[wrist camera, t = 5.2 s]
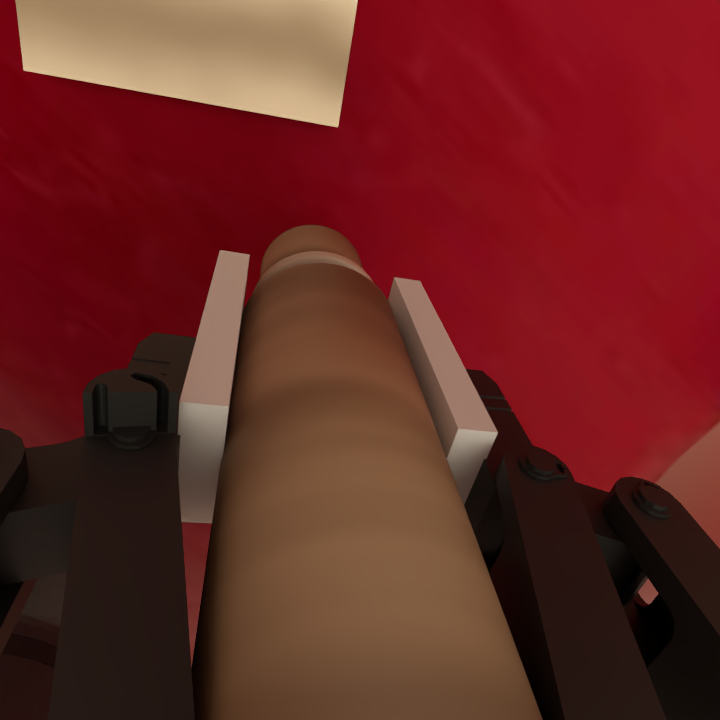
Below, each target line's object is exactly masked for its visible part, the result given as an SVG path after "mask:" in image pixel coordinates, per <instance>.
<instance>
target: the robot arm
mask: <svg viewBox="0 0 720 720" xmlns="http://www.w3.org/2000/svg"><path fill="white" fill-rule="evenodd" d="M249 256H250V255H249V254H242V253H236V252H230V251H223V250H220V252H219V256H218V259H217V263H216V267H215V271H214V274H213V278H212V282H211V285H210V289H209V293H208V297H207V300H206V304H205V308H204V312H203V315H202V319H201V323H200V327H199V330H198V334H197V338H195V337H186V336H178V335H170V334H162V333H153V334H151V335H150V336H148V337H147V338H146V339H144V340H143V341H141V342H140V343H138V345H137V348H136V350H135V352H134V354H133V357H132V361H130V363H129V366H128V368H127V369H119V370H113V371H110V372H107V373H104V374H101V375H99V376H97V377H96V378H94V379H93V380H92V381H90V382H89V383H88V384H87V386H86V388H85V389H84V391H83V410H84V427H85V436H83V437H81V438H78V439H75V440H72V441H69V442H65V443H60V444H55V445H48V446H40V447H32V448H25V447H24V444H23V442H22V439H21V438H20V437H18V436H17V435H16V434H14V433H13V432H11V431H9V430H5V429H1V428H0V720H195V716H194V701H193V686H192V671H191V657H190V642H189V627H188V612H187V597H186V582H185V567H184V552H183V538H182V523H181V522H192V523H212V519H213V512H214V505H215V498H216V491H217V484H218V477H219V470H220V465H221V460H222V457H223V453H224V446H225V439H226V431H227V424H228V416H229V409H230V402H231V394H232V387H233V380H234V372H235V365H236V357H237V350H238V343H239V335H240V328H241V320H242V314H243V308H244V300H245V291H246V282H247V274H248V265H249ZM388 302H389V304H390V307H391V309H392V311H393V314H394V317H395V320H396V322H397V325H398V328H399V330H400V333H401V336H402V339H403V341H404V344H405V347H406V349H407V352H408V355H409V358H410V360H411V363H412V366H413V368H414V371H415V374H416V377H417V379H418V382H419V385H420V387H421V390H422V393H423V396H424V398H425V401H426V404H427V406H428V409H429V412H430V415H431V417H432V420H433V423H434V425H435V428H436V431H437V434H438V436H439V439H440V442H441V444H442V447H443V450H444V453H445V455H446V458H447V461H448V463H449V466H450V469H451V472H452V474H453V477H454V480H455V482H456V485H457V488H458V491H459V493H460V496H461V499H462V501H463V504H464V507H465V510H466V512H467V515H468V518H469V520H470V523H471V526H472V529H473V531H474V534H475V537H476V539H477V542H478V545H479V548H480V550H481V553H482V556H483V558H484V561H485V564H486V567H487V569H488V572H489V575H490V577H491V580H492V583H493V586H494V588H495V591H496V594H497V596H498V599H499V602H500V605H501V607H502V610H503V613H504V615H505V618H506V621H507V624H508V626H509V629H510V632H511V634H512V637H513V640H514V643H515V645H516V648H517V651H518V653H519V656H520V659H521V662H522V664H523V667H524V670H525V672H526V675H527V678H528V681H529V683H530V686H531V689H532V691H533V694H534V697H535V700H536V702H537V705H538V708H539V710H540V713H541V716H542V719H543V720H720V549H719V548H718V546H717V545H716V544H715V543H714V542H713V541H712V540H711V538H710V537H709V536H708V535H707V534H706V532H704V530H703V529H702V528H701V527H700V526H699V524H698V523H697V522H696V521H695V520H694V519H693V517H692V516H691V515H690V514H689V513H688V511H687V510H686V509H685V508H684V507H683V506H682V505H681V503H680V502H678V501H677V500H676V499H675V498H674V497H673V496H672V495H671V494H670V493H669V492H667V491H665V490H664V489H662V488H661V487H660V486H658V485H656V484H654V483H651V482H650V481H647V480H644V479H640V478H635V477H625V478H620V479H619V480H618V481H617V482H616V483H615V485H614V486H613V488H612V490H611V491H610V493H609V492H605V491H602V490H599V489H596V488H593V487H590V486H586V485H583V484H580V483H577V482H575V481H574V478H573V476H572V474H571V472H570V471H569V469H568V467H567V466H566V465H565V464H564V463H563V462H562V461H561V460H560V459H559V458H557V457H556V456H554V455H553V454H551V453H549V452H548V451H546V450H544V449H541V448H538V447H535V446H533V445H532V444H531V442H530V440H529V438H528V437H527V435H526V433H525V432H524V430H523V428H522V426H521V425H520V423H519V421H518V419H517V418H516V416H515V414H514V413H513V412H511V407H510V406H509V404H508V402H507V400H505V397H504V395H503V394H502V392H501V390H500V388H499V387H498V385H497V384H496V383H495V382H494V381H493V380H492V379H491V378H490V377H488V376H487V375H486V374H485V373H484V372H483V371H479V370H471V369H465V367H464V366H463V364H462V362H461V360H460V358H459V356H458V354H457V352H456V350H455V348H454V346H453V344H452V342H451V340H450V338H449V336H448V334H447V333H446V331H445V329H444V327H443V325H442V323H441V321H440V319H439V317H438V315H437V313H436V311H435V309H434V307H433V305H432V303H431V301H430V300H429V298H428V296H427V294H426V292H425V290H424V288H423V286H422V284H421V282H420V281H416V280H409V279H403V278H396V277H394V280H393V283H392V287H391V291H390V295H389V298H388ZM647 579H649V580H650V581H651V583H652V584H653V586H654V587H655V589H656V590H657V592H658V593H659V594H658V595H657V597H656V598H655V599H654V600H653V602H652V603H651V604H647V603H645V601H644V600H643V599H642V598H641V597H640V595H639V593H638V591H639V590H640V588H641V587H642V586H643V584H644V583H645V582H646V580H647Z"/></svg>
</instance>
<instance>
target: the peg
mask: <svg viewBox="0 0 720 720" xmlns="http://www.w3.org/2000/svg"><path fill="white" fill-rule="evenodd" d="M191 671H192V686H193V701H194V716H195V720H543V719H542V716H541V713H540V710H539V708H538V705H537V702H536V700H535V697H534V694H533V691H532V689H531V686H530V683H529V681H528V678H527V675H526V672H525V670H524V667H523V664H522V662H521V659H520V656H519V653H518V651H517V648H516V645H515V643H514V640H513V637H512V634H511V632H510V629H509V626H508V624H507V621H506V618H505V615H504V613H503V610H502V607H501V605H500V602H499V599H498V596H497V594H496V591H495V588H494V586H493V583H492V580H491V577H490V575H489V572H488V569H487V567H486V564H485V561H484V558H483V556H482V553H481V550H480V548H479V545H478V542H477V539H476V537H475V534H474V531H473V529H472V526H471V523H470V520H469V518H468V515H467V512H466V510H465V507H464V504H463V501H462V499H461V496H460V493H459V491H458V488H457V485H456V482H455V480H454V477H453V474H452V472H451V469H450V466H449V463H448V461H447V458H446V455H445V453H444V450H443V447H442V444H441V442H440V439H439V436H438V434H437V431H436V428H435V425H434V423H433V420H432V417H431V415H430V412H429V409H428V406H427V404H426V401H425V398H424V396H423V393H422V390H421V387H420V385H419V382H418V379H417V377H416V374H415V371H414V368H413V366H412V363H411V360H410V358H409V355H408V352H407V349H406V347H405V344H404V341H403V339H402V336H401V333H400V330H399V328H398V325H397V322H396V320H395V317H394V314H393V311H392V309H391V307H390V304H389V302H388V300H387V299H386V297H385V295H384V294H383V293H382V291H381V290H380V289H379V288H378V287H377V286H376V285H375V284H374V283H373V281H372V280H371V278H370V277H369V275H368V274H367V273H366V272H365V271H364V270H363V268H362V265H361V262H360V259H359V256H358V254H357V251H356V250H355V248H354V246H353V245H352V244H351V243H350V241H349V240H348V239H347V238H346V237H344V236H343V235H342V234H340V233H339V232H337V231H335V230H333V229H330V228H328V227H324V226H319V225H304V226H298V227H295V228H292V229H290V230H287V231H286V232H284V233H282V234H281V235H279V236H278V237H277V238H276V239H275V240H274V241H273V242H272V243H271V244H270V246H269V247H268V248H267V250H266V252H265V254H264V257H263V260H262V265H261V274H260V280H259V281H258V283H257V285H256V287H255V289H254V292H253V294H252V296H251V297H250V299H249V300H248V302H247V304H246V306H245V308H244V311H243V314H242V320H241V328H240V335H239V343H238V350H237V357H236V365H235V372H234V380H233V387H232V394H231V402H230V409H229V416H228V424H227V431H226V439H225V446H224V453H223V457H222V460H221V465H220V470H219V477H218V484H217V491H216V498H215V505H214V512H213V519H212V526H211V534H210V541H209V548H208V555H207V562H206V569H205V576H204V584H203V591H202V598H201V605H200V612H199V619H198V626H197V634H196V641H195V648H194V655H193V662H192V669H191Z"/></svg>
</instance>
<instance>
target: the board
mask: <svg viewBox="0 0 720 720" xmlns="http://www.w3.org/2000/svg"><path fill="white" fill-rule="evenodd" d="M357 2H358V0H16V8H17V17H18V25H19V34H20V43H21V51H22V60H23V69H24V71H29V72H35V73H40V74H46V75H52V76H57V77H63V78H68V79H74V80H79V81H85V82H90V83H96V84H101V85H107V86H112V87H118V88H123V89H129V90H134V91H140V92H145V93H151V94H156V95H162V96H167V97H173V98H178V99H184V100H189V101H195V102H201V103H206V104H212V105H217V106H223V107H228V108H234V109H239V110H245V111H250V112H256V113H261V114H267V115H272V116H278V117H283V118H289V119H294V120H300V121H305V122H311V123H316V124H322V125H327V126H333V127H338V125H339V118H340V112H341V105H342V99H343V92H344V86H345V79H346V73H347V66H348V60H349V53H350V47H351V40H352V34H353V28H354V21H355V15H356V8H357Z"/></svg>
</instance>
